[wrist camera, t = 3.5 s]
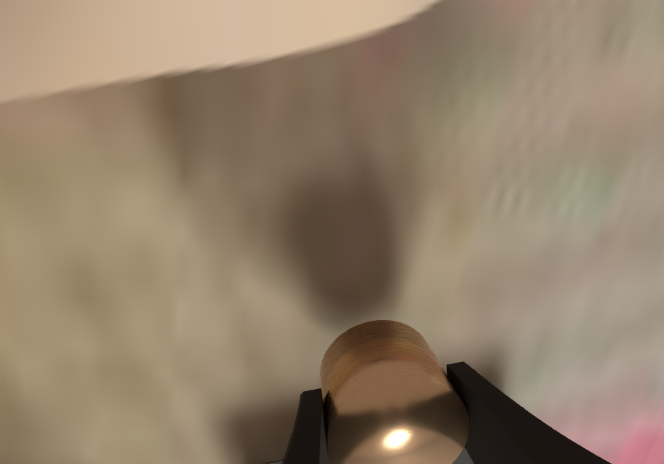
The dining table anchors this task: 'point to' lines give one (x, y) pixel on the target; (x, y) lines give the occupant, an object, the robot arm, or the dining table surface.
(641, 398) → the dining table surface
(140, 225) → the dining table surface
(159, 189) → the dining table surface
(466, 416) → the disc
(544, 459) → the robot arm
